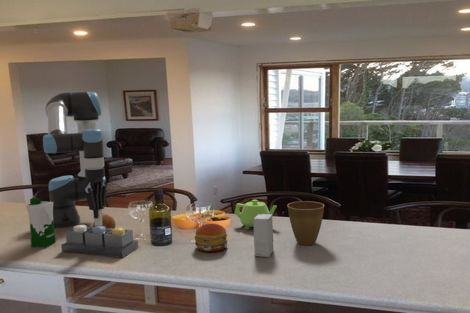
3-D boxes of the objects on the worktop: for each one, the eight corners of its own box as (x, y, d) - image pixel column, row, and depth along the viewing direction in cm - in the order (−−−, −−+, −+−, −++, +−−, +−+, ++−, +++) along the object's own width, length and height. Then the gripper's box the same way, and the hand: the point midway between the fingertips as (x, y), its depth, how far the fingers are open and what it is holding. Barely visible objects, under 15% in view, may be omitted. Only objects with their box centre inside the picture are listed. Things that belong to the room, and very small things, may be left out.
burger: (189, 252, 174) (188, 227, 173) (203, 241, 187) (202, 218, 186) (220, 255, 170) (219, 230, 168) (232, 244, 182) (232, 221, 181)
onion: (89, 236, 198) (87, 214, 197) (109, 230, 205) (107, 209, 204) (100, 240, 192) (99, 218, 190) (120, 234, 199) (119, 213, 198)
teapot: (279, 223, 211) (278, 197, 209) (274, 231, 198) (274, 204, 196) (238, 221, 215) (237, 196, 214) (231, 229, 203) (230, 202, 201)
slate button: (98, 237, 182) (97, 225, 182) (108, 238, 181) (107, 226, 180) (90, 241, 178) (89, 229, 177) (101, 242, 176) (100, 230, 176)
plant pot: (331, 241, 182) (331, 204, 180) (311, 251, 171) (311, 211, 169) (301, 234, 192) (300, 198, 190) (280, 243, 182) (280, 205, 179)
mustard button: (117, 238, 180) (116, 227, 179) (127, 239, 178) (127, 227, 178) (110, 242, 175) (109, 230, 174) (121, 243, 174) (120, 231, 173)
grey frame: (80, 242, 190) (79, 224, 189) (138, 247, 181) (137, 228, 180) (61, 251, 178) (60, 232, 177) (122, 257, 170) (121, 237, 169)
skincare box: (269, 257, 166) (268, 219, 164) (253, 256, 168) (252, 218, 166) (273, 250, 174) (273, 213, 172) (259, 249, 176) (258, 212, 174)
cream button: (79, 235, 185) (78, 224, 184) (89, 236, 184) (88, 225, 183) (71, 239, 180) (70, 227, 180) (82, 240, 179) (81, 228, 178)
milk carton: (40, 240, 193) (36, 196, 191) (59, 241, 191) (55, 196, 189) (27, 247, 185) (23, 201, 182) (46, 248, 183) (42, 201, 180)
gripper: (96, 165, 183) (99, 220, 186) (76, 170, 170) (80, 229, 174) (111, 165, 180) (115, 221, 184) (92, 171, 168) (97, 230, 171)
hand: (98, 225), depth 179 cm, fingers closed
